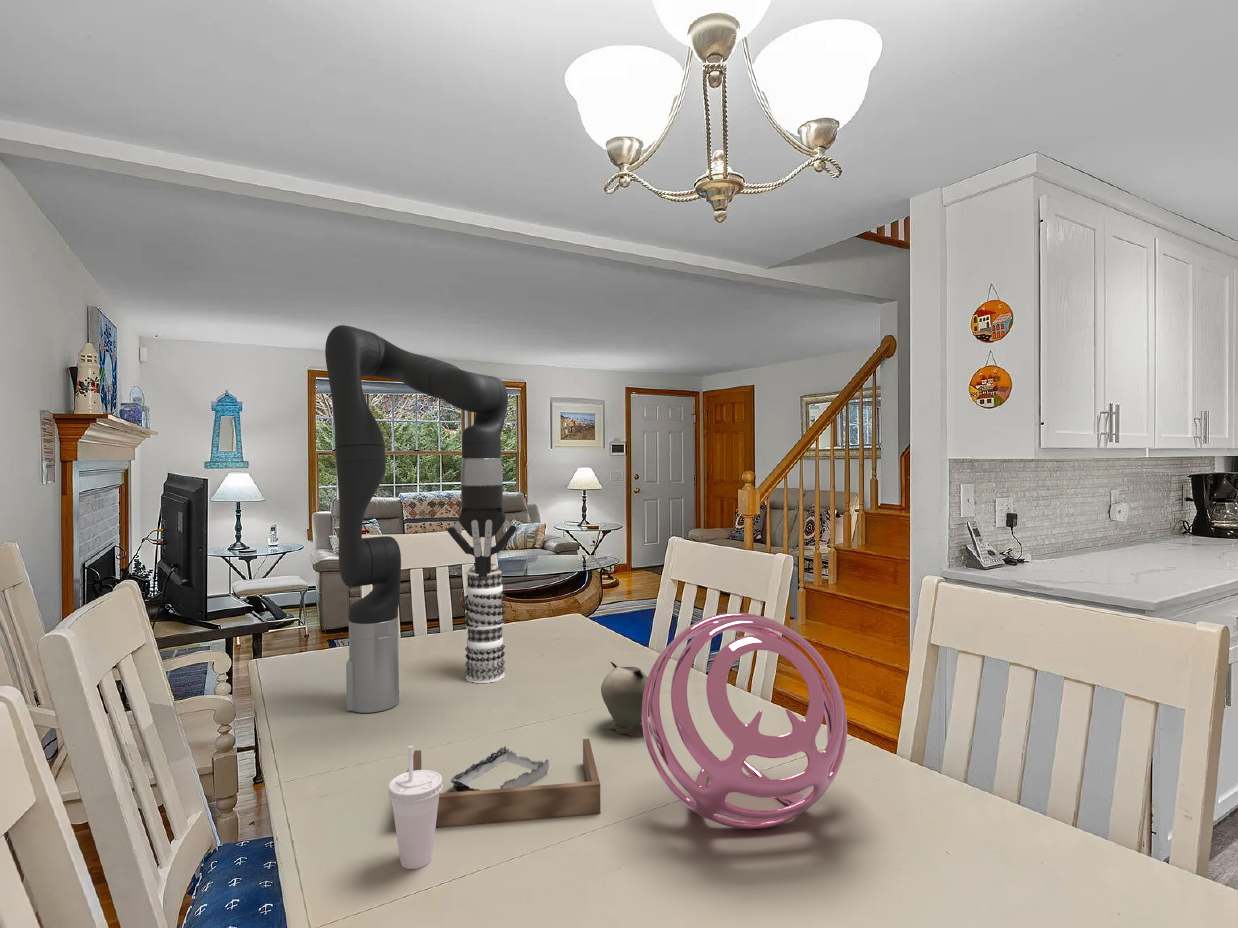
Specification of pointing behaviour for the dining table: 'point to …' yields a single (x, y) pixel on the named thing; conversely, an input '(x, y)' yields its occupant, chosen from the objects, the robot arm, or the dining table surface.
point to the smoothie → (415, 813)
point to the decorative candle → (484, 626)
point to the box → (520, 799)
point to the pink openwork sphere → (745, 726)
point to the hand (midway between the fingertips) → (482, 576)
